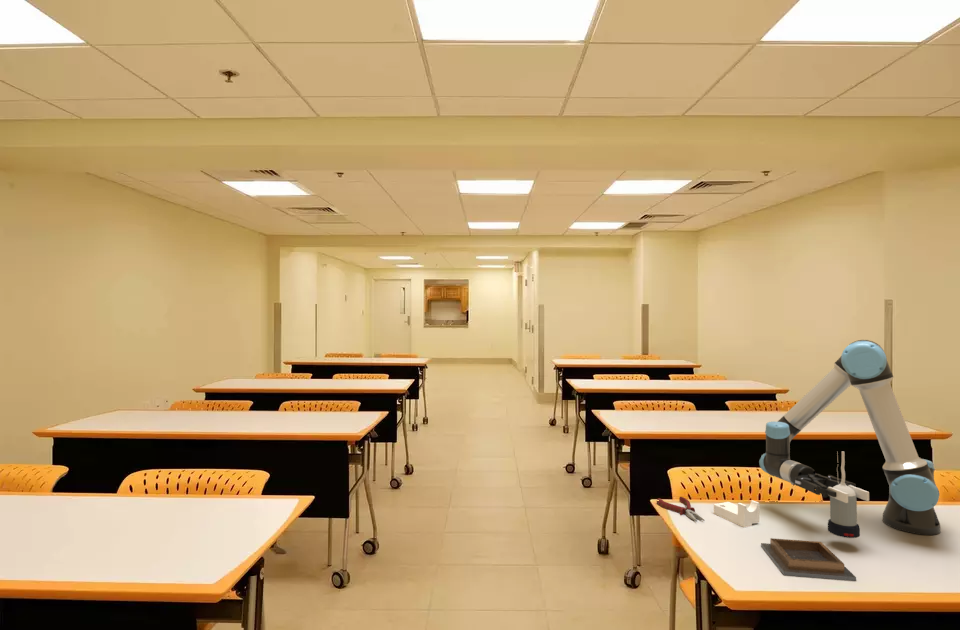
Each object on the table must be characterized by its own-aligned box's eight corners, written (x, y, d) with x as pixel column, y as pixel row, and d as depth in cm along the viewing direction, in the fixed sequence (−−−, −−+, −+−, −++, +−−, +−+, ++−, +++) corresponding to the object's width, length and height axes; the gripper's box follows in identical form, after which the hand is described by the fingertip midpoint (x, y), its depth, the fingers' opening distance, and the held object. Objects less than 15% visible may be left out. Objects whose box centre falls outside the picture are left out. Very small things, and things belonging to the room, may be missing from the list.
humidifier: (847, 539, 158) (846, 456, 157) (821, 529, 165) (820, 449, 165) (866, 535, 160) (865, 453, 160) (840, 525, 168) (838, 447, 168)
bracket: (759, 524, 180) (759, 502, 180) (744, 528, 178) (744, 505, 177) (728, 511, 192) (728, 490, 192) (713, 514, 190) (713, 493, 189)
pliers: (685, 525, 180) (685, 518, 180) (655, 504, 200) (655, 497, 200) (715, 523, 182) (715, 515, 182) (682, 502, 202) (682, 495, 202)
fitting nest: (825, 550, 160) (825, 539, 160) (856, 581, 142) (856, 568, 142) (761, 546, 163) (761, 535, 163) (783, 575, 146) (783, 562, 146)
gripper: (823, 483, 182) (885, 507, 159) (773, 487, 179) (829, 512, 156) (823, 461, 182) (885, 482, 159) (773, 465, 179) (828, 487, 156)
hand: (857, 497), depth 158 cm, fingers closed on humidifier, 7 cm apart
